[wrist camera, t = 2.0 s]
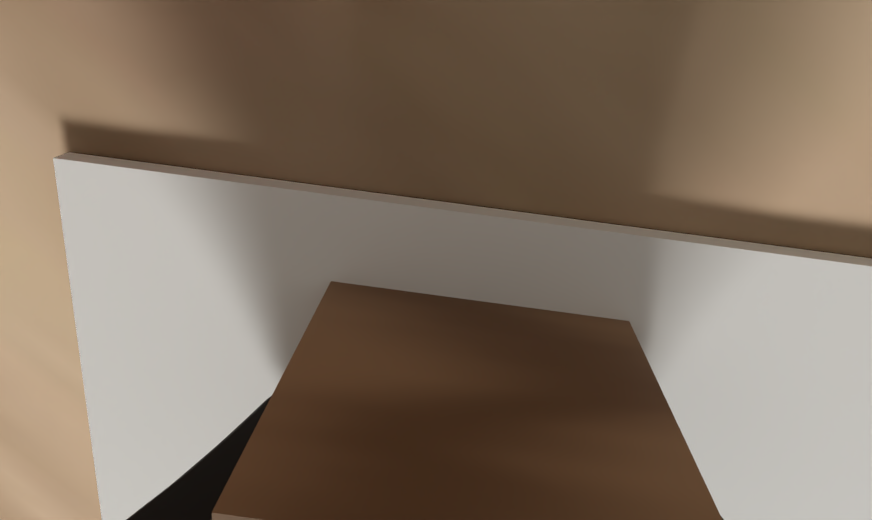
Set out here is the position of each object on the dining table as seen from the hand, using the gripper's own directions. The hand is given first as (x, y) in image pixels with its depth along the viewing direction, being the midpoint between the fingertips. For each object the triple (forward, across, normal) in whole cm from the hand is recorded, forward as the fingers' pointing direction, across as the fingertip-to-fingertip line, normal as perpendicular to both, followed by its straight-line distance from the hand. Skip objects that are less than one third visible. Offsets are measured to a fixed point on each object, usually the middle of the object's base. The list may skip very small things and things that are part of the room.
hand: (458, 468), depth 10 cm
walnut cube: (+1, 0, 0) cm, 1 cm away
